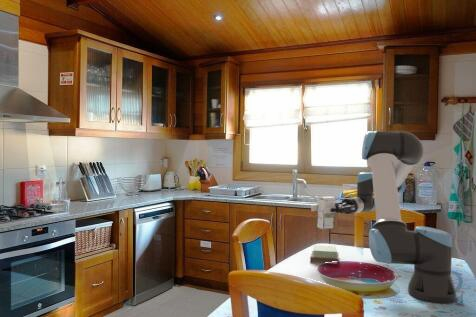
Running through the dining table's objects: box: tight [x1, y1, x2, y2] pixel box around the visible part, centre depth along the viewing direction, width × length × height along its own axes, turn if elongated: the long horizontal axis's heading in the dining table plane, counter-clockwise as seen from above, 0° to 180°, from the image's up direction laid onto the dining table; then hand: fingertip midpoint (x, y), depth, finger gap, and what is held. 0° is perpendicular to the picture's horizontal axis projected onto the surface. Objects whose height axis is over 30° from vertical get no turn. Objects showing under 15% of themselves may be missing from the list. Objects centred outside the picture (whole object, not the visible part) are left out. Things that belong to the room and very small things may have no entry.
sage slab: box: [313, 244, 338, 259], centre depth 182 cm, size 10×10×3 cm
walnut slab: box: [310, 250, 340, 264], centre depth 183 cm, size 12×12×3 cm
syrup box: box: [316, 195, 336, 230], centre depth 182 cm, size 6×6×14 cm
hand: (318, 209), depth 179 cm, fingers closed on syrup box, 7 cm apart
